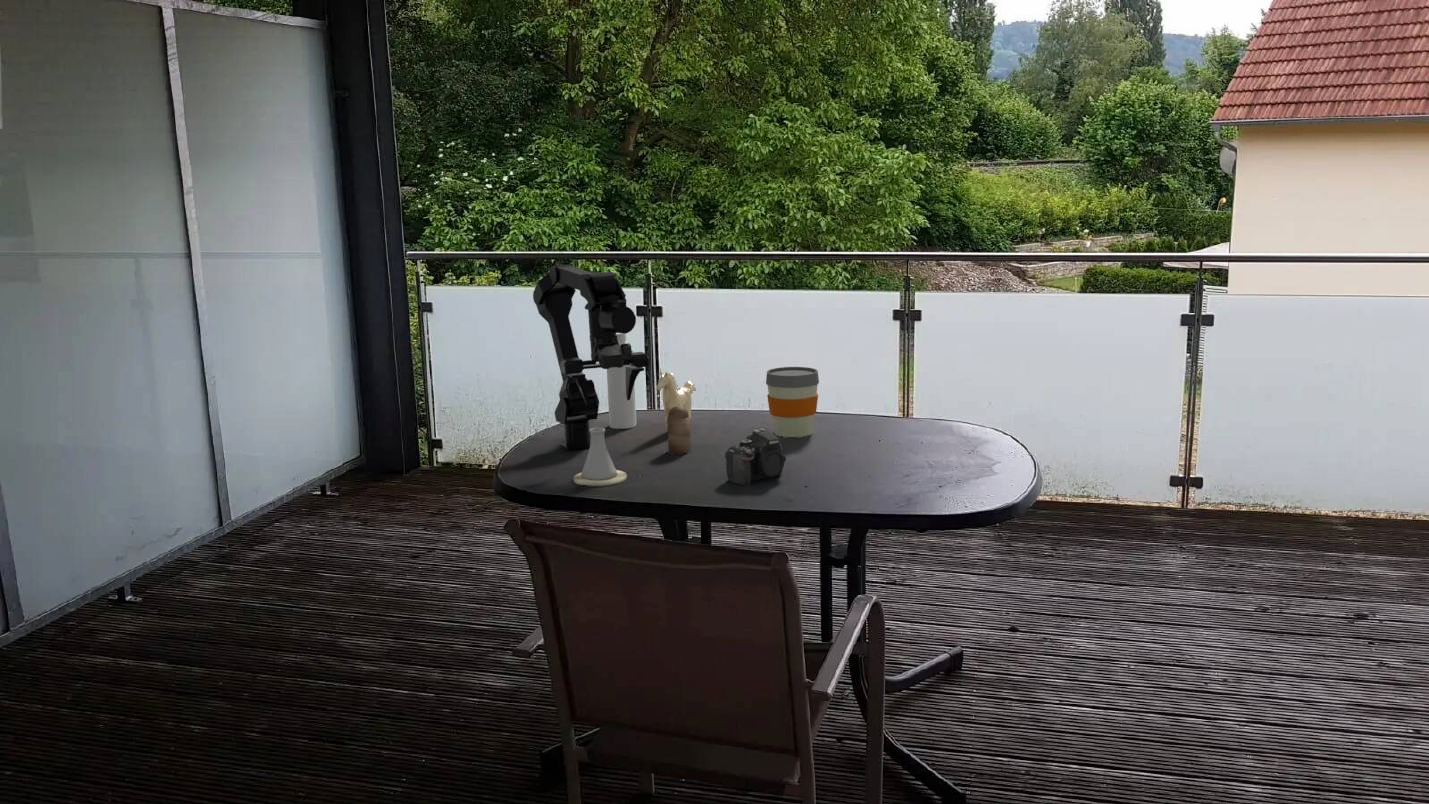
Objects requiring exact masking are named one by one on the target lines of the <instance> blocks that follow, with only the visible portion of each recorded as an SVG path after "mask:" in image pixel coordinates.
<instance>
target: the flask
mask: <svg viewBox="0 0 1429 804" xmlns="http://www.w3.org/2000/svg"><path fill="white" fill-rule="evenodd" d="M589 432H590V441H591V442H590V448H588V452H587V456H586V459H585V461H584V462H585V463H584V465H583V468H582V474H581V475H582V476H583V477H584V478H586V479H593V480H600V479H607V478H611V477H614V476H616V475H618V474H617V471H616V470H617V469H616V467H615V464H614V463H613V460H612V458H611V455H610V452H609V450H608V448H607V444H606V439H605V433H606V428H604V427H591V428H589Z"/></svg>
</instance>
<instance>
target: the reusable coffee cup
mask: <svg viewBox="0 0 1429 804" xmlns="http://www.w3.org/2000/svg"><path fill="white" fill-rule="evenodd" d="M819 378H820V377H819V370H818V369H816V368H813V367H805V366H783V367H781V366H780V367H775V368H770V369H768V370H767V371H766V379H765V384H766V385H767V392H768V393H767V395H766V397H767V403H768V411H769V415H771V417H772V419H771V420H772V424H773V432H774V433H773V434H774V435H775V436H777V435H778V436H777V437H780V436H783V437H782V438H787V437H797V438H804V437H803V436H805V437H808V436H807V435H809V436H811V435H812V434H813V426H814V421H815V420H814V418H815V414H817V409H818V408H817V407H818V401H819V400H818V399H819V393H817V392H818V384H820V379H819Z"/></svg>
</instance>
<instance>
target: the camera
mask: <svg viewBox="0 0 1429 804" xmlns="http://www.w3.org/2000/svg"><path fill="white" fill-rule="evenodd" d="M745 438H746V439H743V440H741V441H740V442H739V443H737V444H735V445H734V444H733V445H731V446H730V447H728V449H727V450H726V451H725V453H724V457H725V463H726V464H725V465H726V476H727V479H728V481H729V482H731V483H732V484H735V485H738V486H749V485H751V483H752V482H754V481H758V480H763V479H767V478H773V477H776V476H779V475H780V474H782V472H783V469H784V466H785V462H786V461H787V457H786V456H785V455H784V454H783V446H782V444H781V440H780V438H779V436H777V435H775V433H772V432H770V431H768V430H766V429H764V428H760V429H753V430H752V433H751V434H748V435H747V436H746V437H745Z"/></svg>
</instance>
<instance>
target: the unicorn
mask: <svg viewBox="0 0 1429 804" xmlns="http://www.w3.org/2000/svg"><path fill="white" fill-rule="evenodd" d="M659 376H660V378H659V379H658V382H657V386H656V388H657V390H658V391H660V392H661V391H662V404H663V410H664V418H665V421H664V422H665V425H666V427H667V417H668V413H669V411H670V409H671V408H673V407H675V406H682V407H684V408H685V409H686V410H687V412H688V416H689V420H690V421H691V415H692V413H691V412H692V402H693V401H692V399H693V398H692V394H694V392H695V391H696V390H697V389H696V387H695V383H694V382H693V380H688V381H686V382H685V383H684V385H683V386H681V387H678V384H677V380H676V379H675V376H674V374H673V372H669V371H666V372H664V373H662V369H661V368H659Z"/></svg>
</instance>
